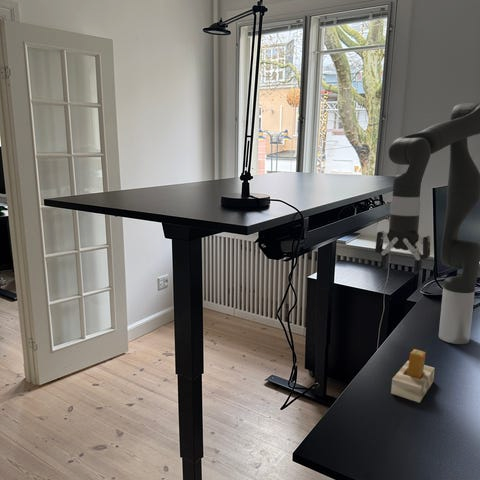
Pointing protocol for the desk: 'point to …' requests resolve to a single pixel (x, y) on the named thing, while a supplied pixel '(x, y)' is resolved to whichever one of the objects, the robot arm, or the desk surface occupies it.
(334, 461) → the desk surface
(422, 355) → the supplement box
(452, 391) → the desk surface
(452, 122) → the robot arm
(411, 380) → the socket block
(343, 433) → the desk surface
